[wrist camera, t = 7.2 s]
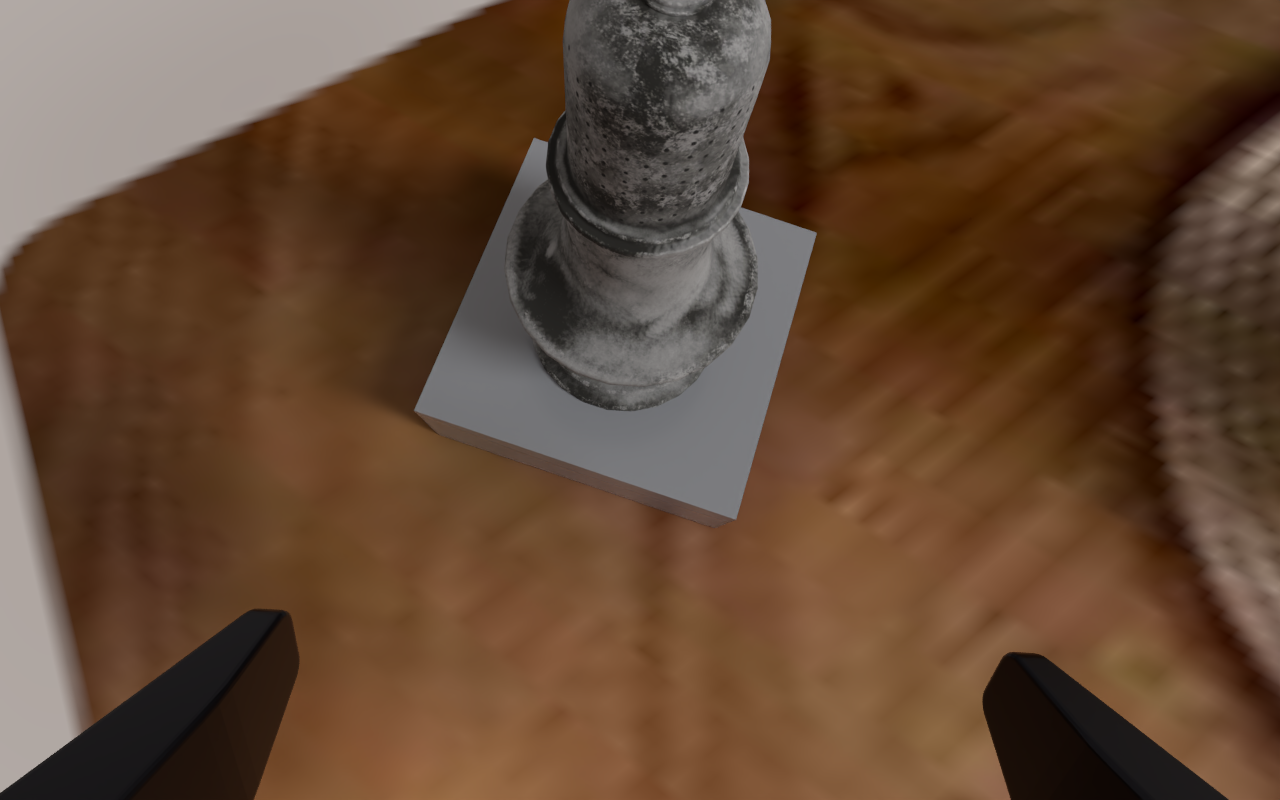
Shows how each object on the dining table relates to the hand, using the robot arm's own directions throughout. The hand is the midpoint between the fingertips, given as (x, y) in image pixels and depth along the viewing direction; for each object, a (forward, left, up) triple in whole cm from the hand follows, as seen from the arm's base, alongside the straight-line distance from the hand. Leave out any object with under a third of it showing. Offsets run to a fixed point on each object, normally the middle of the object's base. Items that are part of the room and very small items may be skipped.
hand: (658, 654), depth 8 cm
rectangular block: (+8, +2, -12) cm, 14 cm away
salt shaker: (+8, +2, -9) cm, 12 cm away
